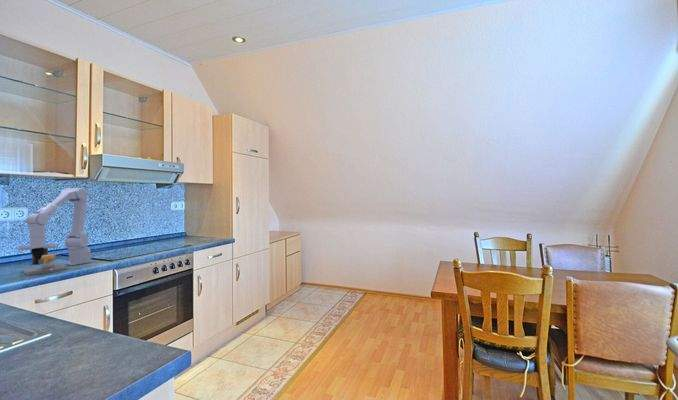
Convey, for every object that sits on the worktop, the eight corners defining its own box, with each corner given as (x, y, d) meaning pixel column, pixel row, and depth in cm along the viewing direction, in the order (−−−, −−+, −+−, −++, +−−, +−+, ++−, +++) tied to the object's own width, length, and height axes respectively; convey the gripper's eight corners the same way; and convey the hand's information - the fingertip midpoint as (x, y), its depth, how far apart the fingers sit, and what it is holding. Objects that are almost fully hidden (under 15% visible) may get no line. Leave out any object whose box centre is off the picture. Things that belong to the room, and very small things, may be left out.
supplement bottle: (29, 265, 177) (28, 244, 177) (37, 262, 183) (36, 242, 183) (43, 264, 179) (42, 243, 178) (51, 261, 185) (50, 241, 185)
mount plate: (59, 266, 173) (59, 257, 173) (67, 269, 165) (66, 260, 165) (21, 272, 161) (21, 262, 161) (27, 276, 153) (27, 266, 152)
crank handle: (42, 259, 166) (41, 255, 166) (56, 258, 169) (56, 253, 168) (32, 265, 153) (31, 259, 153) (48, 263, 156) (48, 258, 156)
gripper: (14, 239, 150) (15, 266, 150) (54, 236, 157) (55, 263, 157) (20, 237, 156) (21, 263, 156) (58, 235, 163) (59, 260, 163)
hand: (38, 263), depth 157 cm, fingers closed
